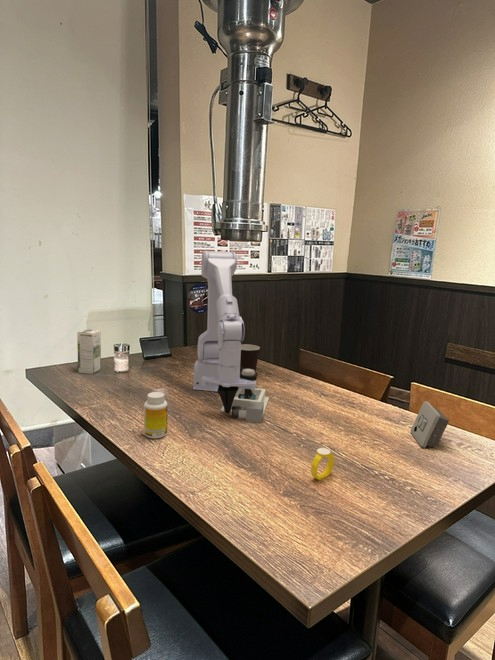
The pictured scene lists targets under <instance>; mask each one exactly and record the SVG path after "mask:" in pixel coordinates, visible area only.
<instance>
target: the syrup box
mask: <svg viewBox="0 0 495 660" xmlns="http://www.w3.org/2000/svg"><path fill="white" fill-rule="evenodd" d="M76 336H77V373H78V374H89V375H90V374H91V375H94V374H95V373H97V372H99V371H100V370H101V369H102V366H101V364H102V353H101V351H102V350H101V349H102V347H101V346H102V344H101V343H102V342H101V340H102V339H101V337H102V336H101V330H99V329H92V328H88V329H86V328H85V329H83V330H81V331H78V332H77V335H76Z"/></svg>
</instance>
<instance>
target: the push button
mask: <svg viewBox="0 0 495 660" xmlns="http://www.w3.org/2000/svg"><path fill="white" fill-rule="evenodd" d="M258 375H259V374H258V373H257V371H256V372H255V371H254V370H253V369H243V370H242V372H240V378H241V379H245V380H250V381H256V380H257V377H258ZM253 393H254V390H251V389H244V388H242V391H241V394H239V395H238V398H239V399H249V400H258V399H256V398H259V396H257V397H256V395H255V394H253Z"/></svg>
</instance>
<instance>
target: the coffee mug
mask: <svg viewBox="0 0 495 660" xmlns="http://www.w3.org/2000/svg"><path fill="white" fill-rule="evenodd" d="M260 348H261V347H260V346H258V345H256V344H255V345H254V344H248V343H247V344H246V343H245V344H241V358H240V372H242V370H243V369H253V370H254V371H255V372H256V373H257V367H258V360H259V356H260V355H259V354H260Z"/></svg>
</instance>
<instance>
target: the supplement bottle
mask: <svg viewBox="0 0 495 660" xmlns="http://www.w3.org/2000/svg"><path fill="white" fill-rule="evenodd" d="M146 397H147V400H146V401H145V402H144V405H143V433H144V436H145V437H147V438H149V439H161V438H163V437H166V435H168V434H167V433H168V402H167V401H166V399H165V394H164V393H163V392H161V391H153V392H149V393H148V394H147V395H146Z"/></svg>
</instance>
